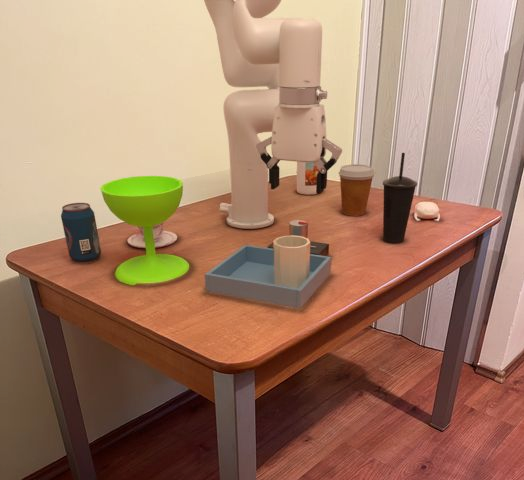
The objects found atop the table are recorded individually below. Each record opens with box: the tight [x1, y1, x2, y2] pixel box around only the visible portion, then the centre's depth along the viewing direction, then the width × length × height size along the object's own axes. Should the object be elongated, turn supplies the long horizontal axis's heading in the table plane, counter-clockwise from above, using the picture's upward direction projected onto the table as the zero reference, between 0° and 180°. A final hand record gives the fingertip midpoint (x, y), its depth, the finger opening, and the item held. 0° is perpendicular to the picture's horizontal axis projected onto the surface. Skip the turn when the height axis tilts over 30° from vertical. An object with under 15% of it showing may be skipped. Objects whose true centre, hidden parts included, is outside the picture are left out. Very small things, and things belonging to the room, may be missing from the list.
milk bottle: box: [296, 161, 319, 196], centre depth 163 cm, size 8×8×20 cm
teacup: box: [126, 222, 178, 249], centre depth 130 cm, size 12×12×6 cm
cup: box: [272, 235, 311, 288], centre depth 104 cm, size 7×7×9 cm
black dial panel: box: [266, 240, 330, 256], centre depth 119 cm, size 12×8×3 cm
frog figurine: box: [413, 201, 441, 222], centre depth 143 cm, size 8×7×4 cm
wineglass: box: [99, 175, 190, 286], centre depth 110 cm, size 16×16×18 cm
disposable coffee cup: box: [338, 163, 376, 217], centre depth 145 cm, size 10×10×12 cm
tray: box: [204, 244, 332, 309], centre depth 107 cm, size 20×18×4 cm
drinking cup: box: [382, 152, 418, 244], centre depth 124 cm, size 8×8×20 cm
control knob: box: [288, 219, 309, 239], centre depth 117 cm, size 4×4×5 cm
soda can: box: [60, 202, 102, 265], centre depth 118 cm, size 7×7×12 cm
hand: (297, 189), depth 109 cm, fingers open, 9 cm apart
